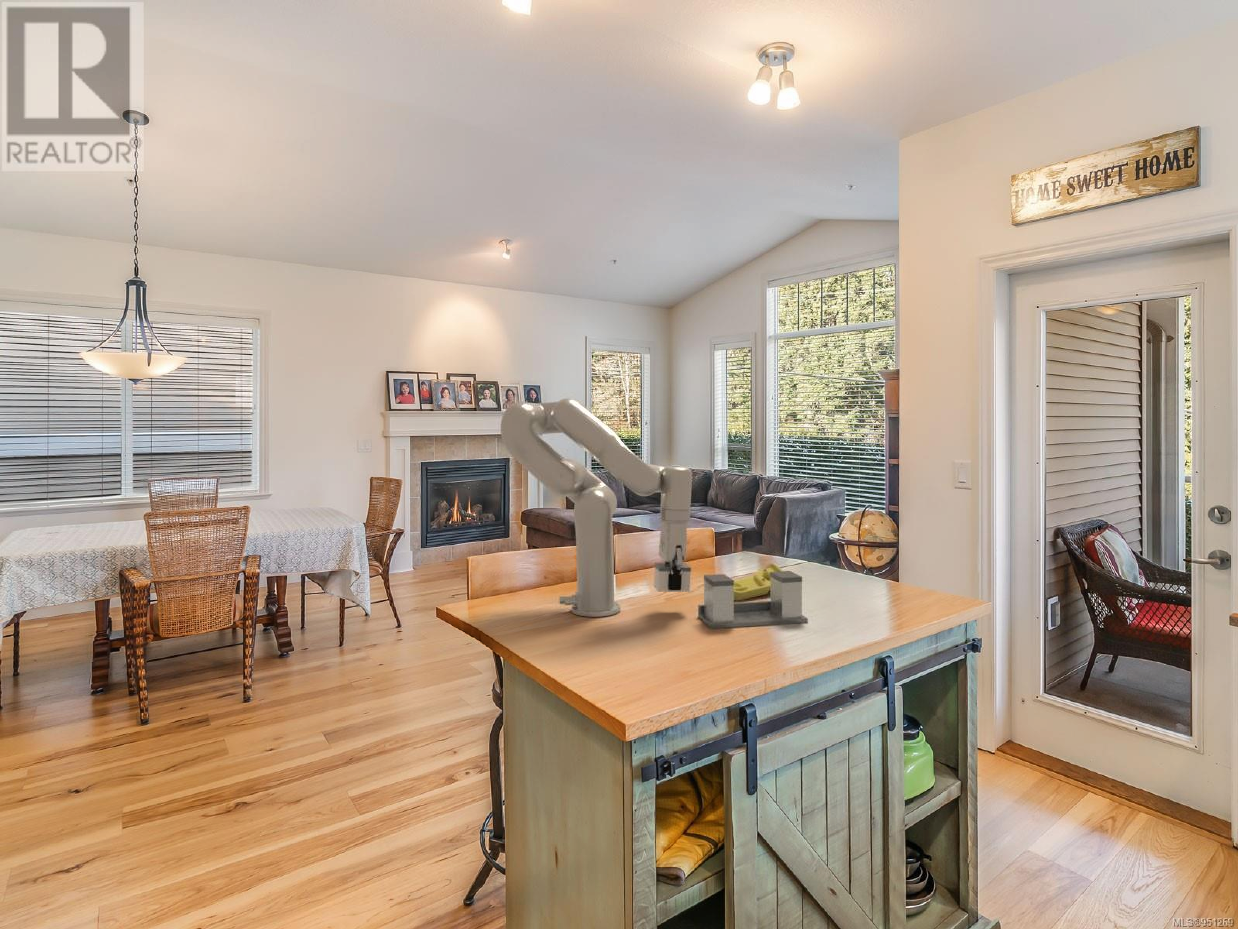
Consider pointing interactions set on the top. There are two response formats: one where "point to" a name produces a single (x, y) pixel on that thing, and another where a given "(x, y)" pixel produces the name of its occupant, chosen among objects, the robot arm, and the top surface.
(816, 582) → the top surface
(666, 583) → the block
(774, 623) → the grey fixture holder
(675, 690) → the top surface
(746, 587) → the plastic component
